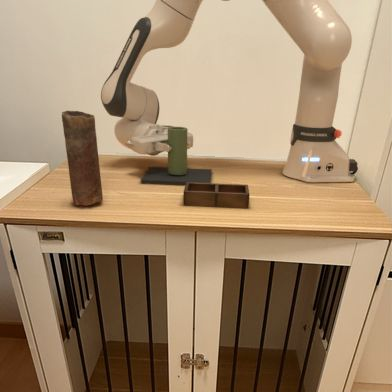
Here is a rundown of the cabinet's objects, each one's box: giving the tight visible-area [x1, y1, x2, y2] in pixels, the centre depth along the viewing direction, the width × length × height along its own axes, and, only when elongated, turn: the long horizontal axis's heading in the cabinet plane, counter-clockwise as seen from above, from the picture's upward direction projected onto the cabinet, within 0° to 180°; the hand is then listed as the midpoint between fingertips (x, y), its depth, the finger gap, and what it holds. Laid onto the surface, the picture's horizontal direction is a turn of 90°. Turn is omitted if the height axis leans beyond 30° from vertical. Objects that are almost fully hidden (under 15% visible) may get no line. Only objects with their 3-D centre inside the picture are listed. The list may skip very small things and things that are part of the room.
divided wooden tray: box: [183, 182, 250, 209], centre depth 106 cm, size 16×9×4 cm, turn 87°
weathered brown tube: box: [61, 110, 104, 207], centre depth 97 cm, size 8×7×20 cm
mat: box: [140, 166, 212, 186], centre depth 124 cm, size 20×16×1 cm
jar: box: [167, 126, 188, 175], centre depth 120 cm, size 6×6×12 cm
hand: (179, 147), depth 119 cm, fingers closed on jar, 5 cm apart
